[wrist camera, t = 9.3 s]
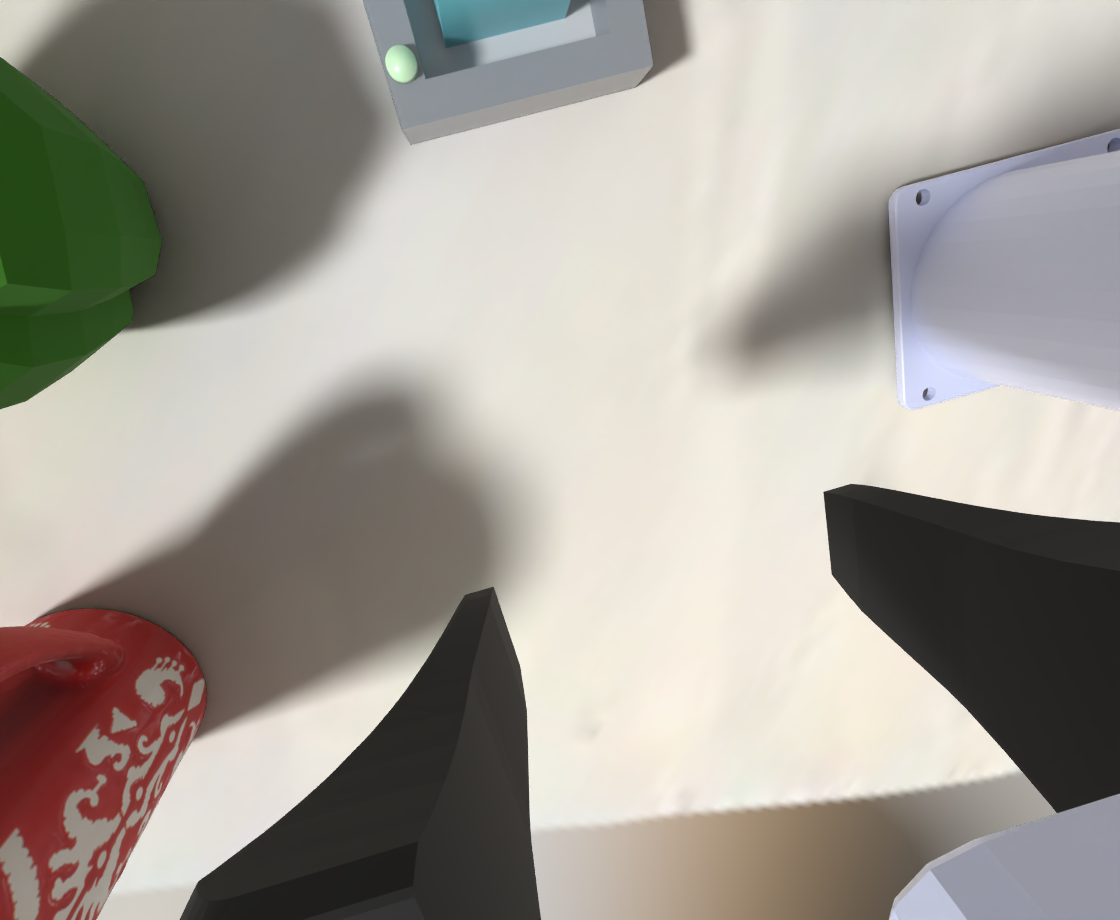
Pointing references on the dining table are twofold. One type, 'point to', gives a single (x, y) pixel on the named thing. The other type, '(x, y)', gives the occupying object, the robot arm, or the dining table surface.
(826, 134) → the dining table surface
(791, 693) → the dining table surface
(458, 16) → the plug
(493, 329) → the dining table surface
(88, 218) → the bell pepper
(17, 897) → the mug
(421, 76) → the port
